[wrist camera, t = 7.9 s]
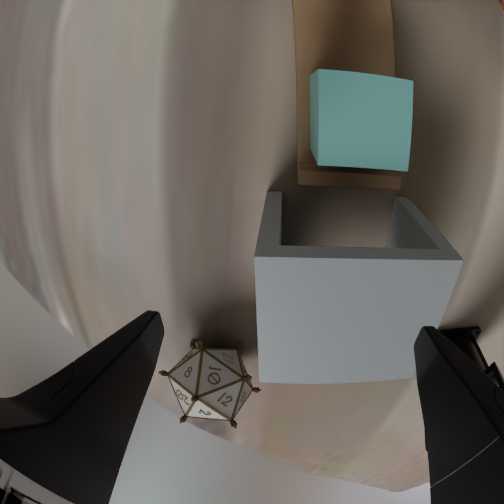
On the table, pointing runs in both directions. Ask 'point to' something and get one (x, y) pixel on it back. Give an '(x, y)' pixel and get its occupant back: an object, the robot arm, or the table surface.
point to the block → (360, 120)
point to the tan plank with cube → (344, 59)
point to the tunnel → (349, 300)
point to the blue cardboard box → (501, 3)
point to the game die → (211, 383)
